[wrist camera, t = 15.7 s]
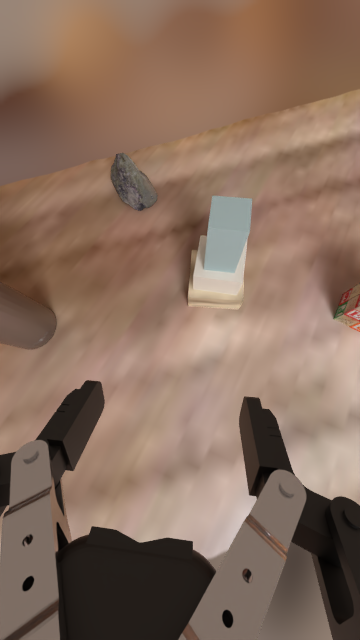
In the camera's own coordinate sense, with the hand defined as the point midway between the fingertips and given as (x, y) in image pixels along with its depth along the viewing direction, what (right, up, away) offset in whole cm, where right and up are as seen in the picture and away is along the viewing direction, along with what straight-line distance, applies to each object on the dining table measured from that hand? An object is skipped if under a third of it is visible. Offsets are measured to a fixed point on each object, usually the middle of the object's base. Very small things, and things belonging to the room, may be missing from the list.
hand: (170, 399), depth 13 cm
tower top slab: (+8, +13, +30) cm, 33 cm away
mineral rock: (-10, +36, +43) cm, 57 cm away
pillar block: (+7, +15, +25) cm, 30 cm away
